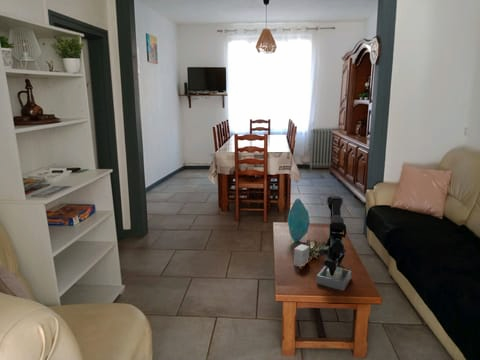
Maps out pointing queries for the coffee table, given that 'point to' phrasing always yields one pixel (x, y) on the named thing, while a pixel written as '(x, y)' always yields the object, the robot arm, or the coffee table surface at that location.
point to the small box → (301, 254)
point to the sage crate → (335, 274)
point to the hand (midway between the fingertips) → (334, 271)
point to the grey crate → (332, 282)
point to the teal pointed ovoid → (298, 220)
